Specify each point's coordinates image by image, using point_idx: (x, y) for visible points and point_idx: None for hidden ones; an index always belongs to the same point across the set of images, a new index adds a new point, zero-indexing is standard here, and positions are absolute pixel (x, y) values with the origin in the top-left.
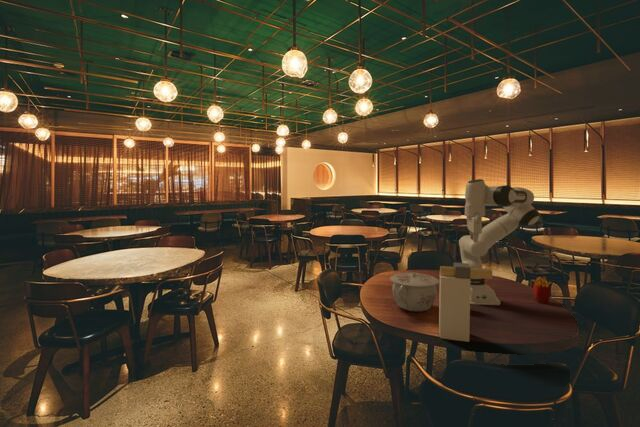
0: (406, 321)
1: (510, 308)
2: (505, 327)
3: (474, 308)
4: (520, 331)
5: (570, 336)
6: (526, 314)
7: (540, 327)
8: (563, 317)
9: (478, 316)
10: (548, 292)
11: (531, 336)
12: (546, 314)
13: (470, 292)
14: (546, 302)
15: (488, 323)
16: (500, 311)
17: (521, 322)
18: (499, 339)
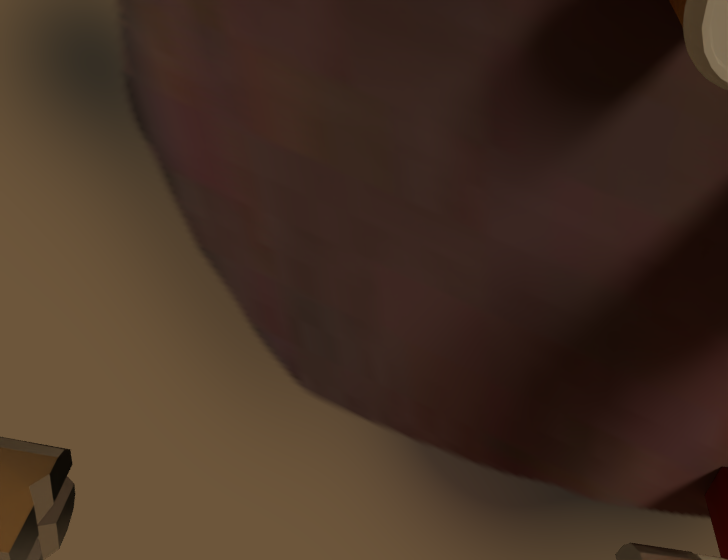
0: None
1: (669, 307)
2: (363, 148)
3: None
4: (315, 203)
5: (292, 376)
6: (563, 340)
7: (382, 317)
8: (513, 459)
9: (549, 48)
10: (723, 550)
11: (257, 225)
12: (556, 420)
13: (711, 80)
14: (709, 494)
15: (420, 69)
16: (627, 232)
17: (445, 265)
18: (172, 33)
